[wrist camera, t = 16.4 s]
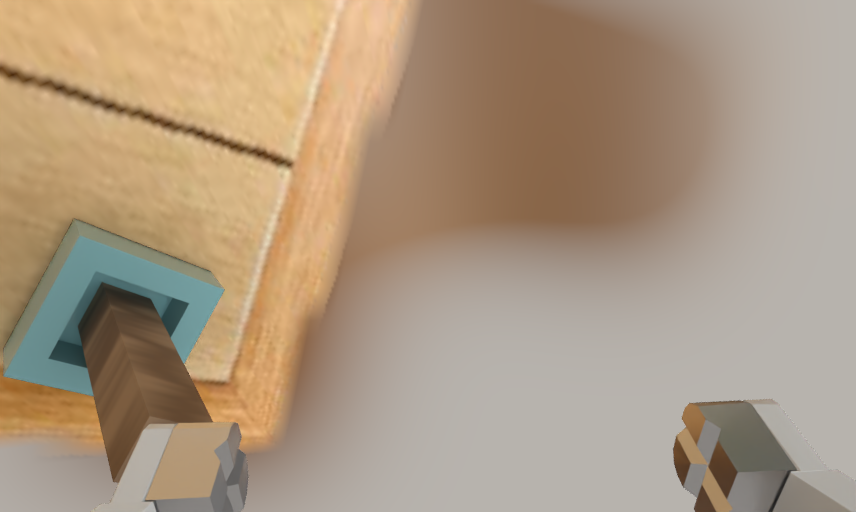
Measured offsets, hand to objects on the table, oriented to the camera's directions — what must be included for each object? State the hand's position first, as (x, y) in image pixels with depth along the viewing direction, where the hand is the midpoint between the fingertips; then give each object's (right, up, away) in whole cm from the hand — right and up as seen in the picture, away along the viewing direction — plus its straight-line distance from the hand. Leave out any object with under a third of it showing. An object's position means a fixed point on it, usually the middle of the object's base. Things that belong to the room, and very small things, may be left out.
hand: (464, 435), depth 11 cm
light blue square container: (-23, 0, +33) cm, 40 cm away
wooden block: (-23, -1, +32) cm, 40 cm away
